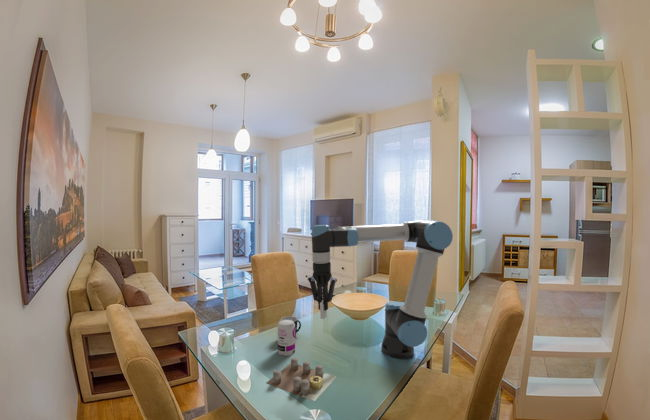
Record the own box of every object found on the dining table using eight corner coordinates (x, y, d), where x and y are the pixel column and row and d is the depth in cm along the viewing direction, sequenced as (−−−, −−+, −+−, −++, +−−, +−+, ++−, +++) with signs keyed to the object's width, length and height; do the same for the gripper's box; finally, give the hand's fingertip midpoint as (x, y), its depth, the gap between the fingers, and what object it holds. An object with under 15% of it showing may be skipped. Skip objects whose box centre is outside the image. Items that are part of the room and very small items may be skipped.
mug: (285, 344, 147) (285, 324, 147) (277, 337, 154) (277, 318, 154) (305, 337, 155) (305, 318, 155) (296, 331, 162) (296, 313, 162)
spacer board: (336, 379, 117) (336, 366, 117) (314, 404, 102) (314, 390, 102) (291, 365, 127) (291, 353, 127) (265, 386, 113) (265, 372, 113)
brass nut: (324, 384, 112) (324, 377, 112) (317, 391, 108) (317, 384, 107) (314, 380, 114) (314, 374, 114) (307, 387, 110) (307, 381, 110)
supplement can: (295, 349, 142) (295, 318, 142) (294, 358, 134) (294, 325, 133) (278, 349, 141) (278, 318, 141) (276, 358, 133) (276, 325, 133)
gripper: (339, 260, 123) (341, 316, 123) (312, 259, 129) (314, 312, 129) (331, 264, 116) (333, 323, 117) (303, 262, 122) (305, 318, 123)
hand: (323, 317), depth 123 cm, fingers closed
